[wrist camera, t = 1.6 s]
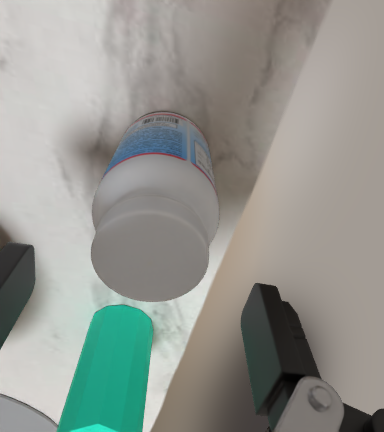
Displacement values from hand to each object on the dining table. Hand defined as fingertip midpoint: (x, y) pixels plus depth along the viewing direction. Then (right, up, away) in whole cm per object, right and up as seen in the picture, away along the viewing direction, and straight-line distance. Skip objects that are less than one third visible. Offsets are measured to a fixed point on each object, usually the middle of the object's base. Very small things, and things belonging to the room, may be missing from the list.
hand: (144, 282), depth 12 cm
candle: (-5, -8, +20) cm, 22 cm away
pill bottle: (0, +7, +10) cm, 12 cm away
